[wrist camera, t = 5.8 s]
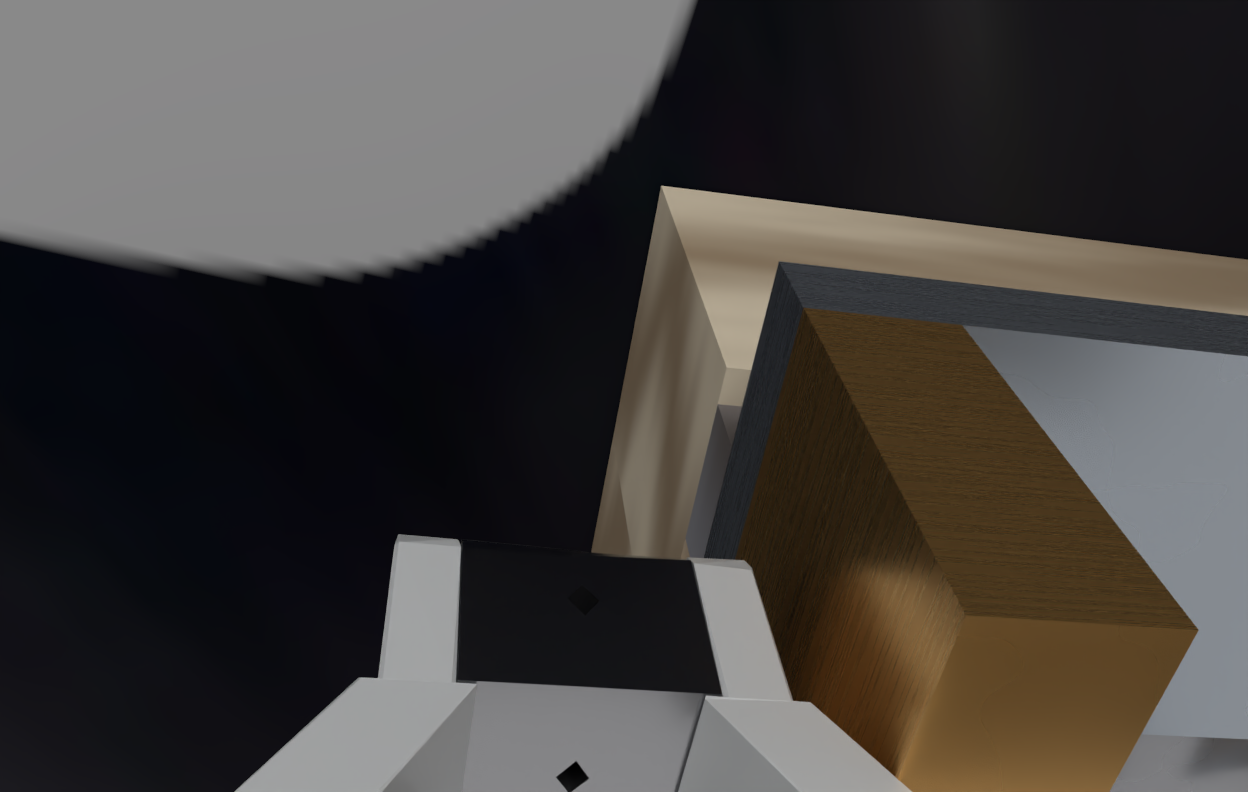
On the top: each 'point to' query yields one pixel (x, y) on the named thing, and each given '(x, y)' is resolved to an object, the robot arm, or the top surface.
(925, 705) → the keeper plate
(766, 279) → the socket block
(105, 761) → the top surface
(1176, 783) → the peg
